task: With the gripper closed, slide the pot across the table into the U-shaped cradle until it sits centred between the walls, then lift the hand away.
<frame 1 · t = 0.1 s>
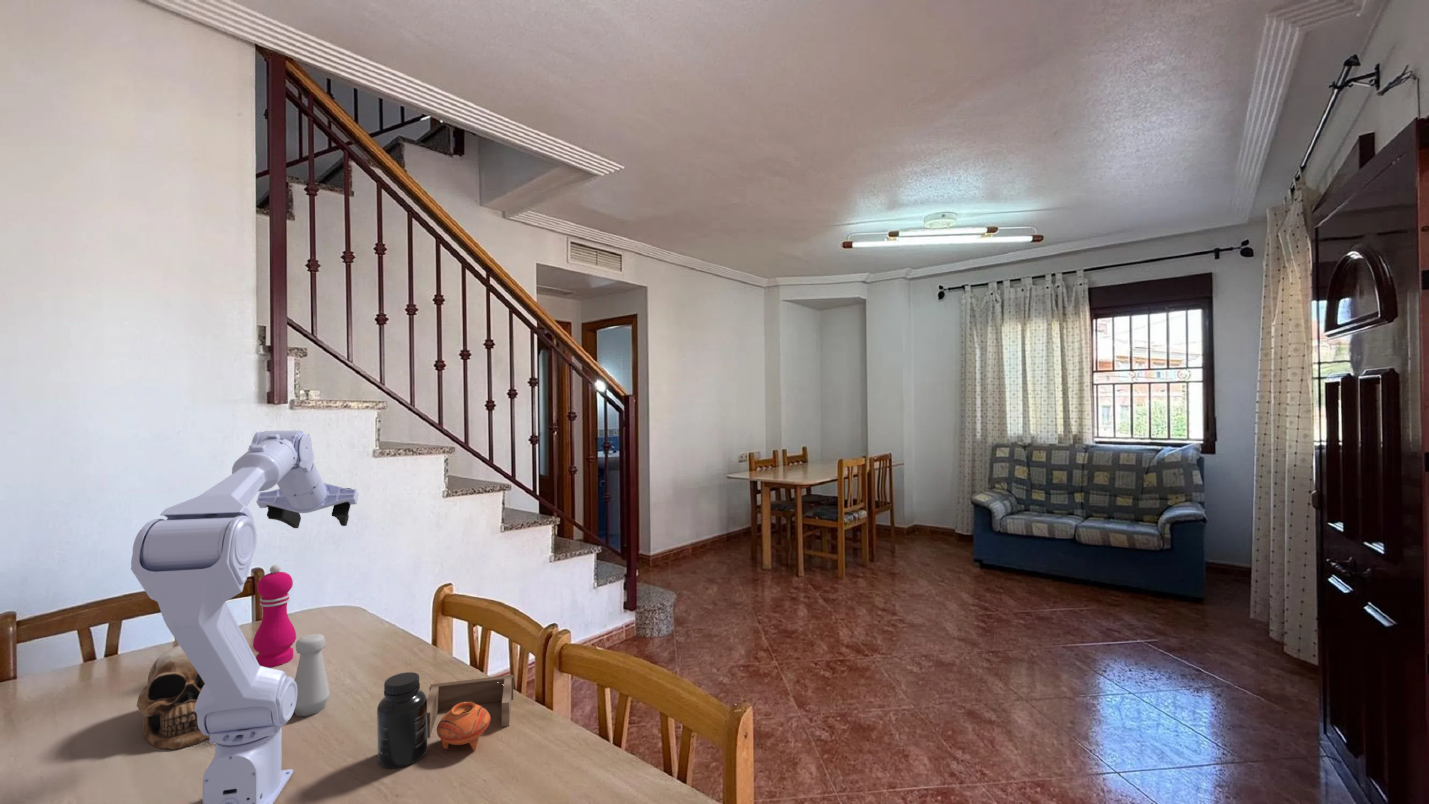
hand: (321, 522, 109), 32 cm above the table, tool tilted 50°, fingers open, 7 cm apart
pot: (463, 745, 95), on the table
cradle: (468, 720, 101), on the table
skull: (192, 721, 101), on the table
salt shaker: (310, 711, 104), on the table
pepper mill: (274, 661, 123), on the table
supplement bottle: (402, 757, 91), on the table
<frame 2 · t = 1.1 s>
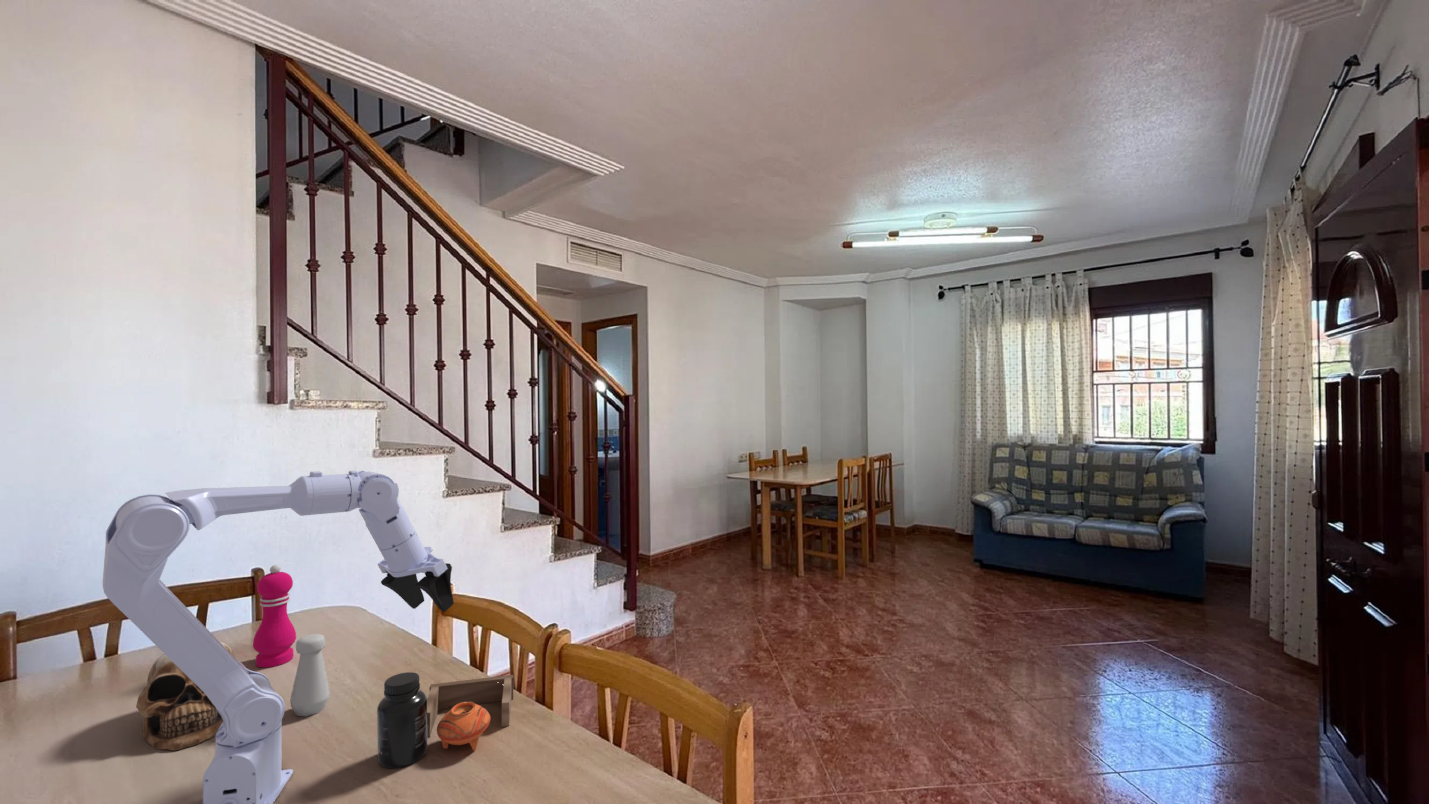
hand: (433, 606, 100), 20 cm above the table, tool tilted 25°, fingers open, 7 cm apart
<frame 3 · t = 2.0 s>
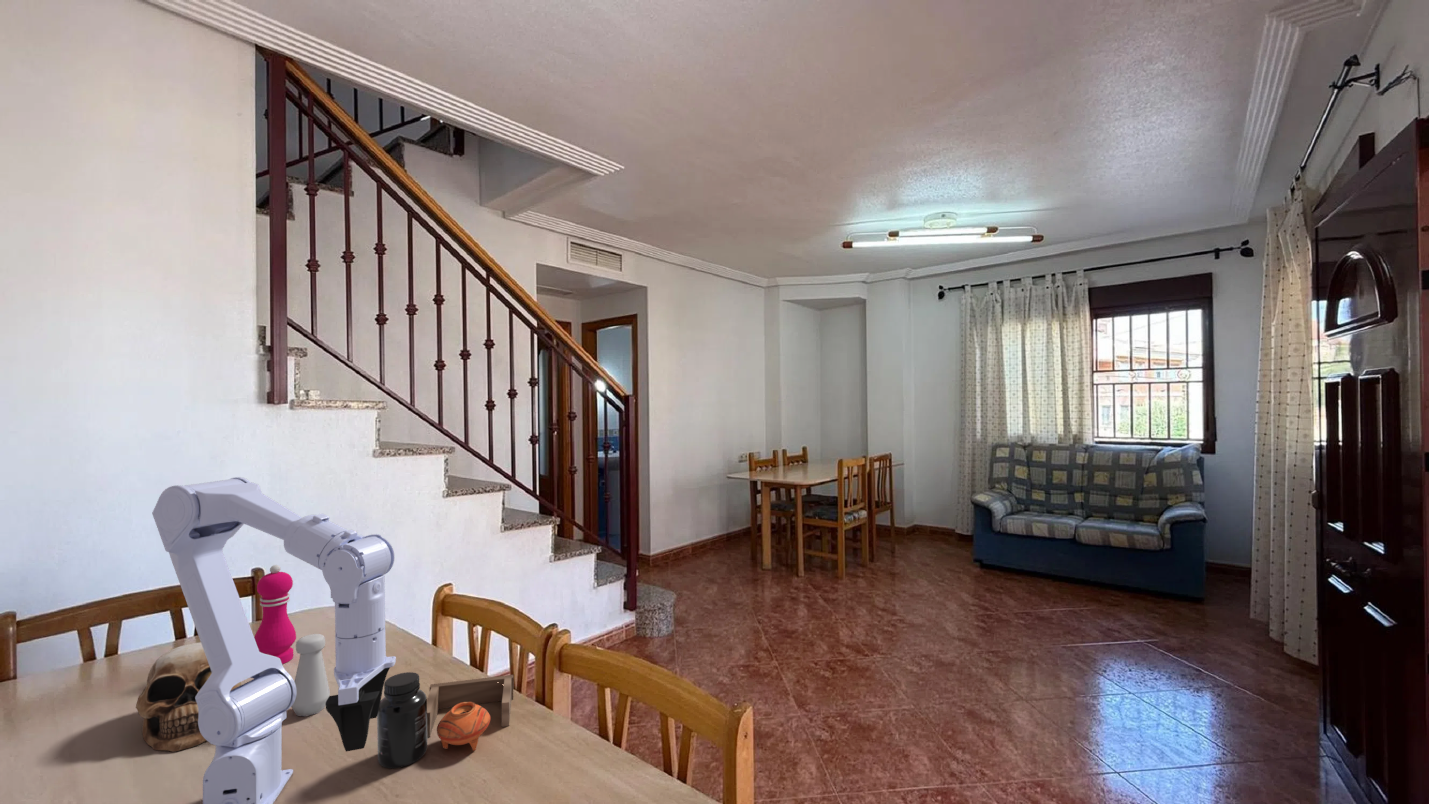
hand: (362, 732, 79), 11 cm above the table, tool pointing down, fingers open, 7 cm apart
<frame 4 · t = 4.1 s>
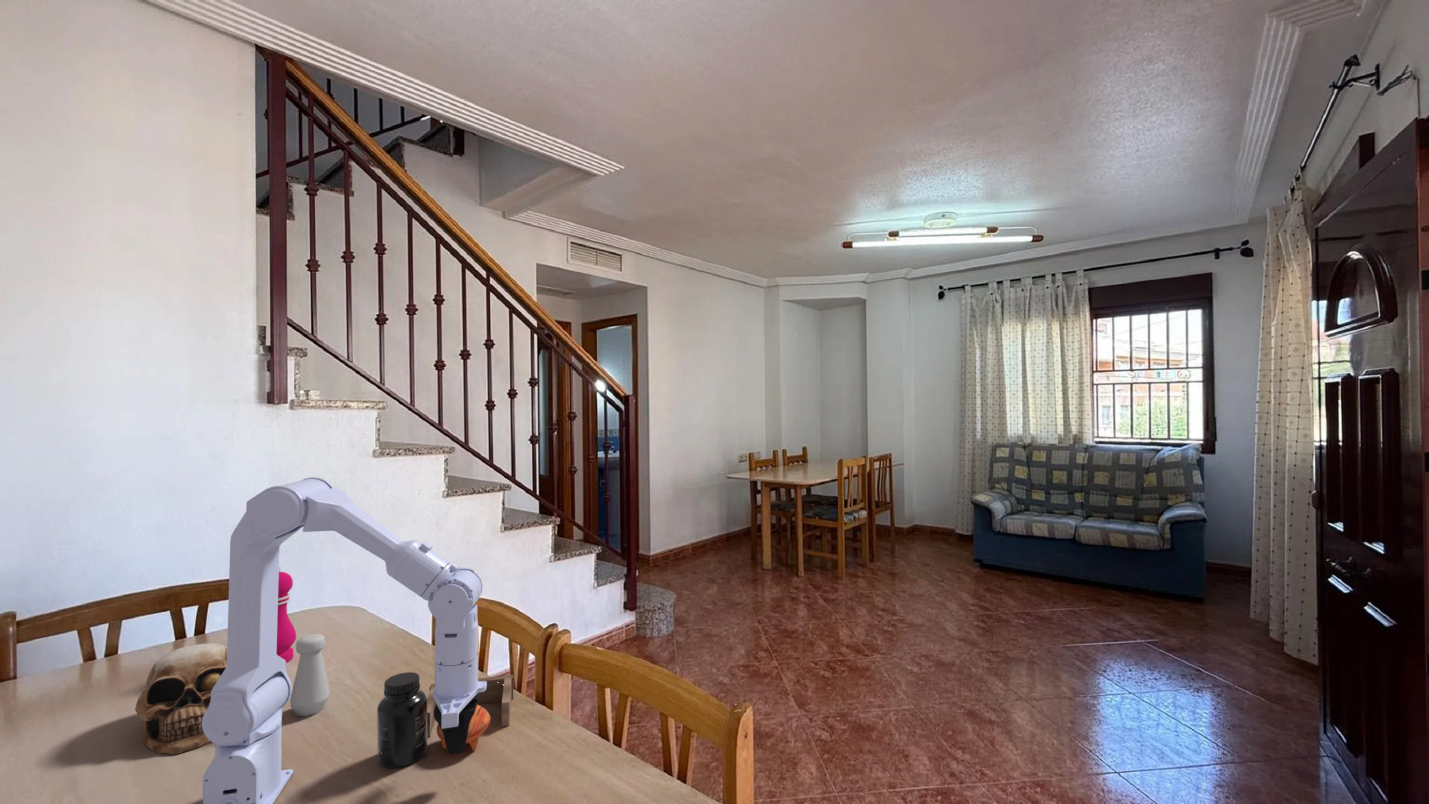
hand: (456, 750, 86), 4 cm above the table, tool pointing down, fingers closed
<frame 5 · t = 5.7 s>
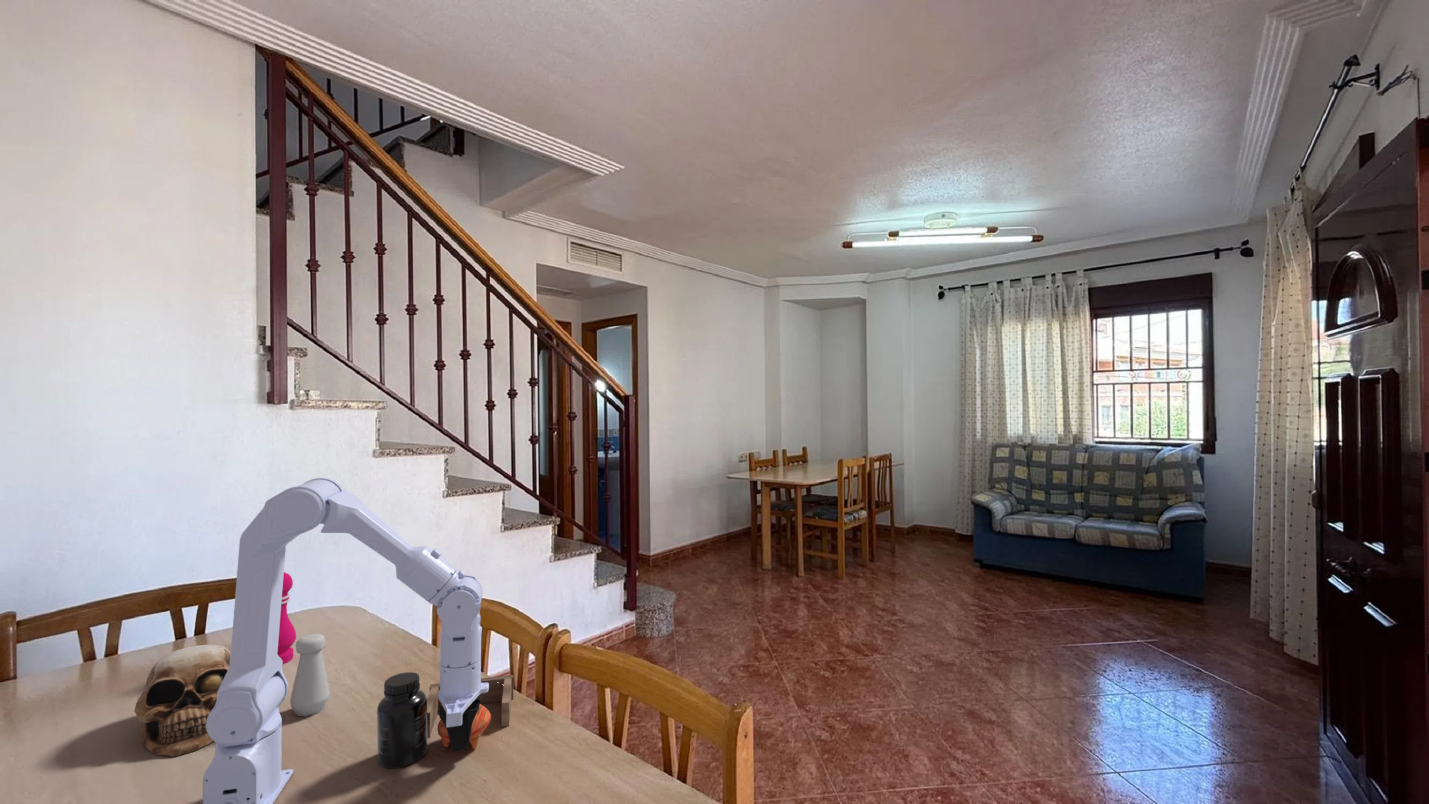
hand: (460, 748, 90), 2 cm above the table, tool pointing down, fingers closed
pot: (464, 743, 95), on the table, touching gripper
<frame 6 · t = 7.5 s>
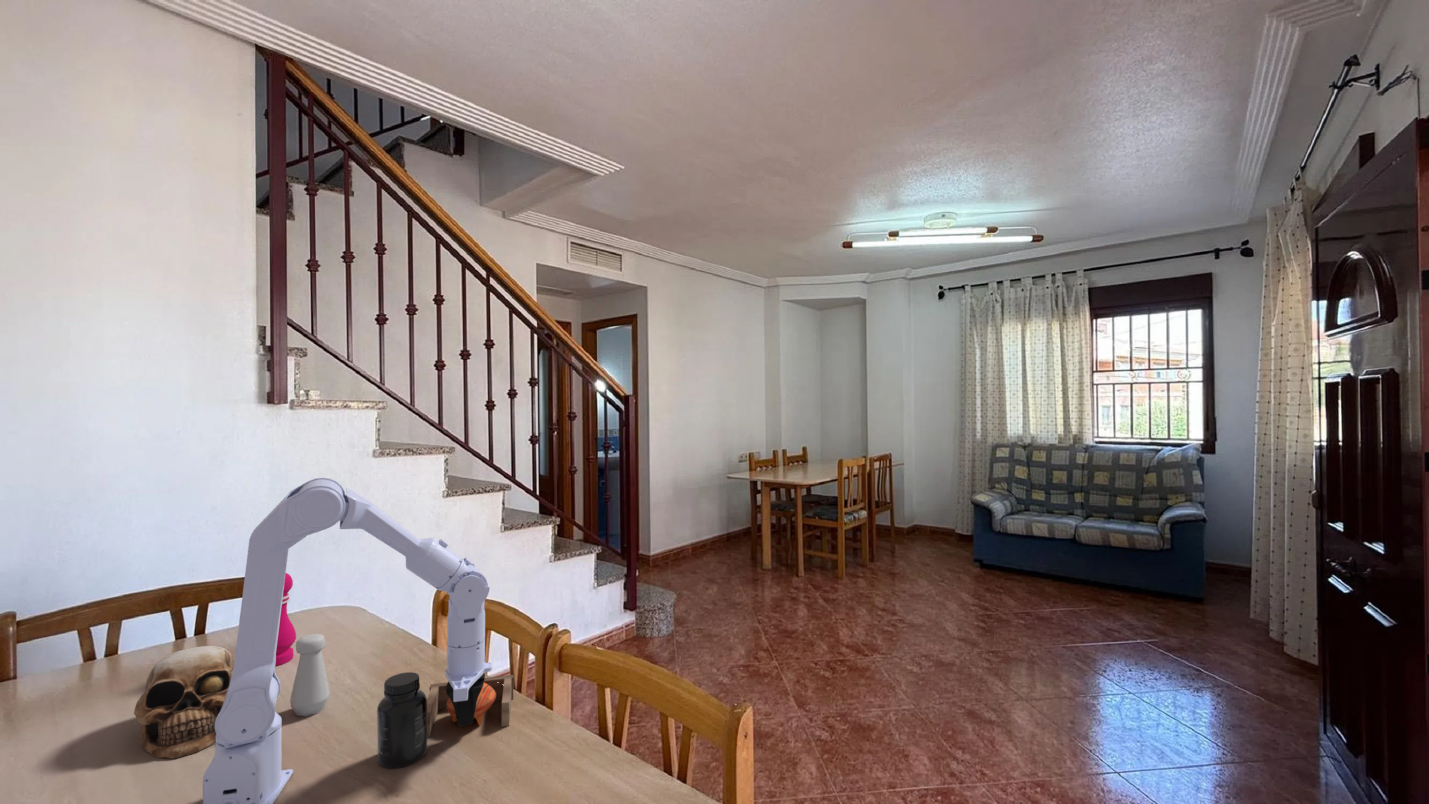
hand: (465, 723, 97), 2 cm above the table, tool pointing down, fingers closed
pot: (471, 720, 102), on the table, touching gripper
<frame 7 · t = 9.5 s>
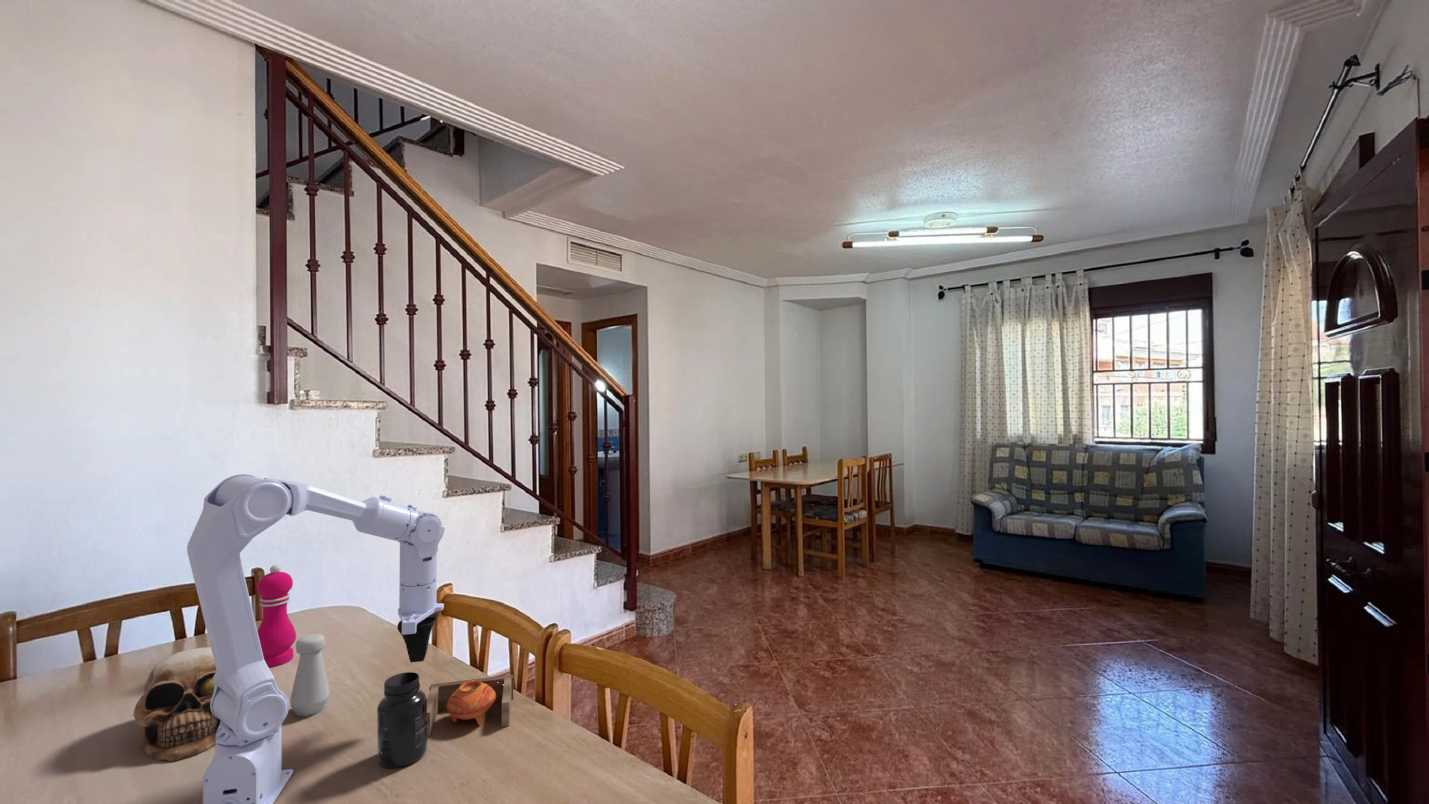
hand: (417, 660, 102), 10 cm above the table, tool pointing down, fingers closed
pot: (471, 720, 102), on the table
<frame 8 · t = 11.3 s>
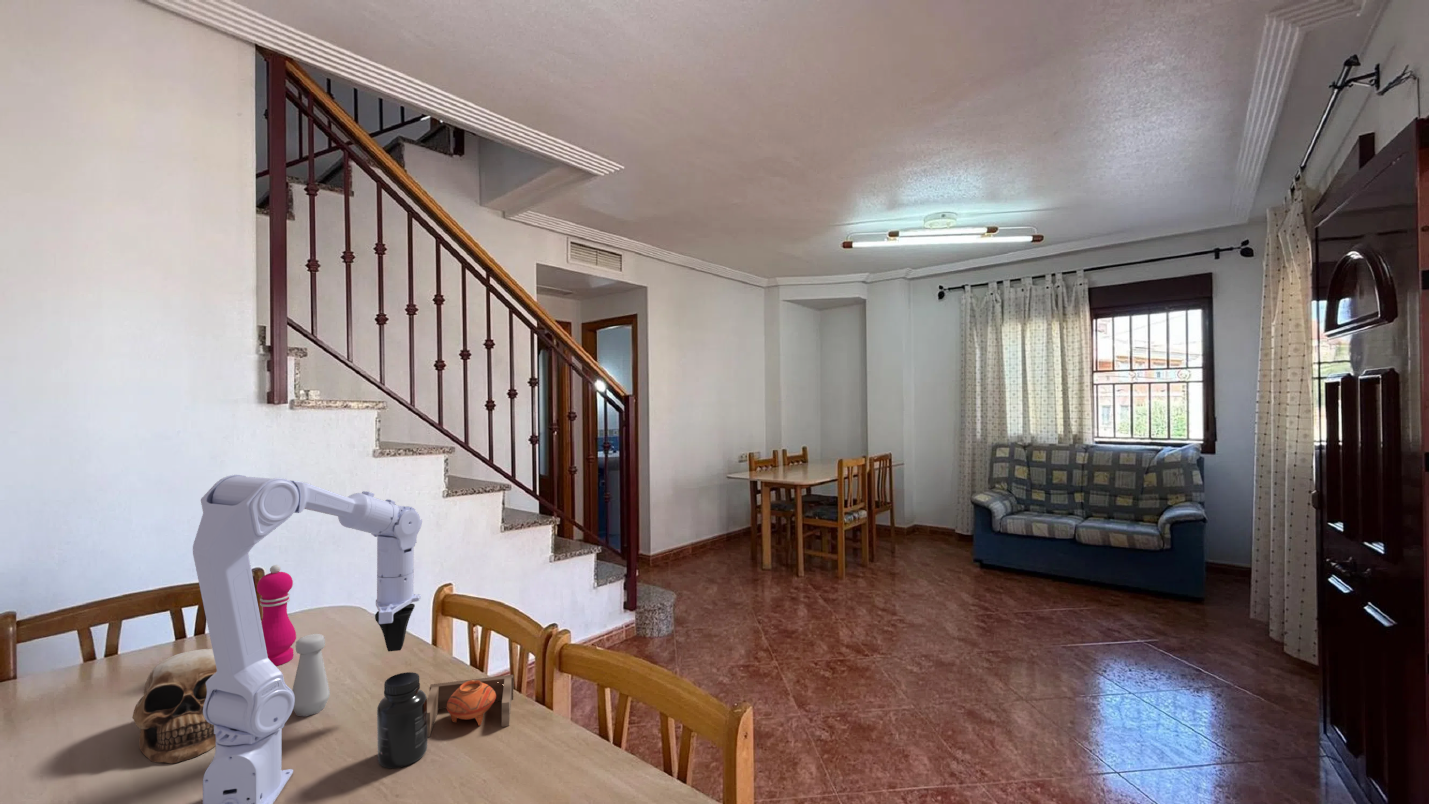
hand: (395, 649, 105), 10 cm above the table, tool pointing down, fingers closed
at the end: pot 0.8 cm off-centre on the cradle, point 0.0 cm above the cradle's base; pot moved 7.5 cm from its start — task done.
